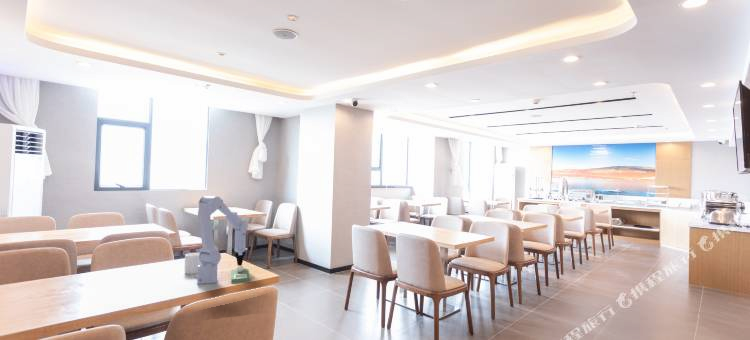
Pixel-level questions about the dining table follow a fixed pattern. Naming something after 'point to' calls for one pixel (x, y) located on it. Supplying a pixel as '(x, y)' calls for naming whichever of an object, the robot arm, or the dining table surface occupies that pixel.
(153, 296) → the dining table surface
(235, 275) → the green
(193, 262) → the cup
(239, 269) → the ball
